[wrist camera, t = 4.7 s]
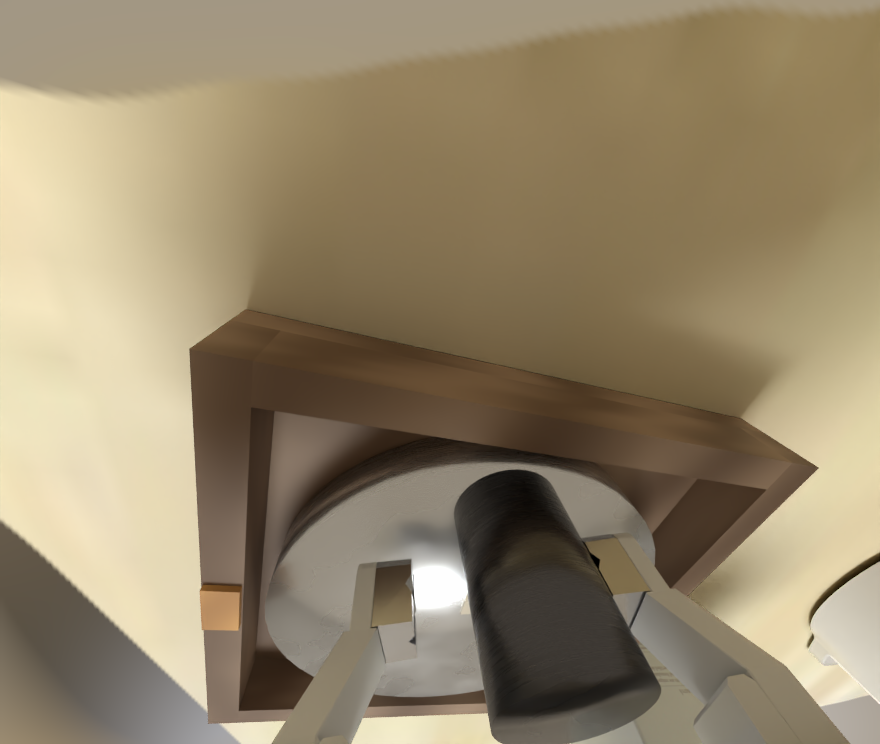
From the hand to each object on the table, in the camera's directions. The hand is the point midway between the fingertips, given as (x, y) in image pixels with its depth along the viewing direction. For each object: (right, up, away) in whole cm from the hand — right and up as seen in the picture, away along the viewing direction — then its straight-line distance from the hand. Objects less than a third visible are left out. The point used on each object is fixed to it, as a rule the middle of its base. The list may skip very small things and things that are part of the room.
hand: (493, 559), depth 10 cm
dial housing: (-1, -3, +7) cm, 7 cm away
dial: (-1, -4, +6) cm, 7 cm away
